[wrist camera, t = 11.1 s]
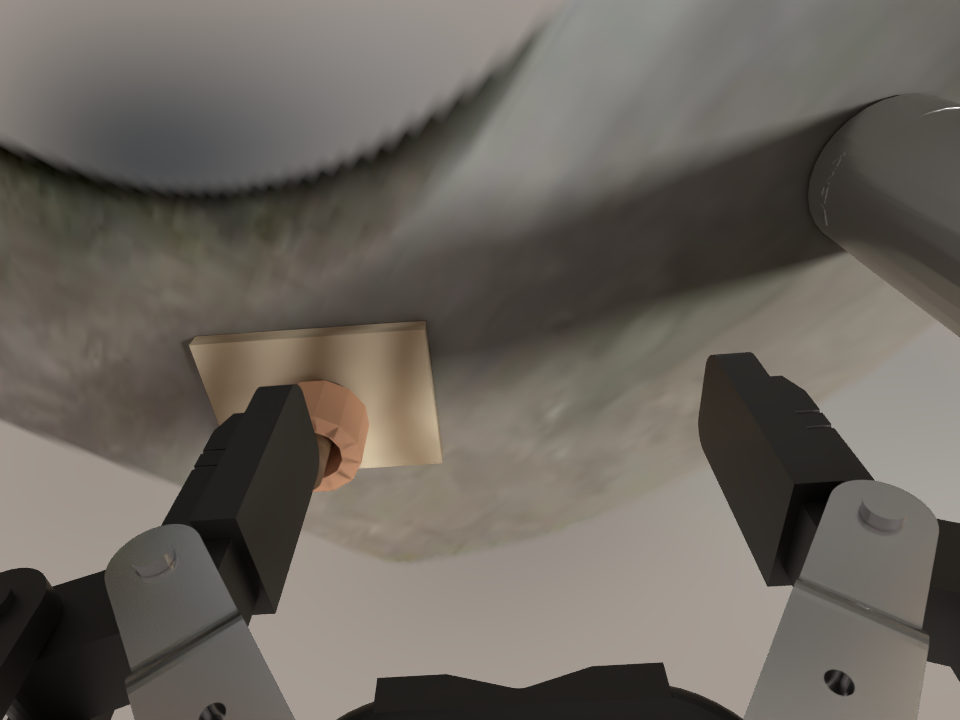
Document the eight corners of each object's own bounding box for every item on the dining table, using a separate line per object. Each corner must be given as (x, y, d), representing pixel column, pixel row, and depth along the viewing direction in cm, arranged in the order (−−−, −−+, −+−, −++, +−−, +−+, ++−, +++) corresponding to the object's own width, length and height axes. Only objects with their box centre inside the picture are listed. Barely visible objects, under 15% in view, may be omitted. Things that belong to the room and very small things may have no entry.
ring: (359, 378, 42) (350, 414, 39) (374, 449, 46) (367, 488, 42) (266, 384, 42) (249, 420, 39) (288, 455, 46) (274, 494, 42)
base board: (425, 320, 43) (424, 329, 42) (442, 452, 49) (442, 463, 48) (195, 336, 43) (189, 345, 42) (242, 465, 49) (238, 476, 48)
